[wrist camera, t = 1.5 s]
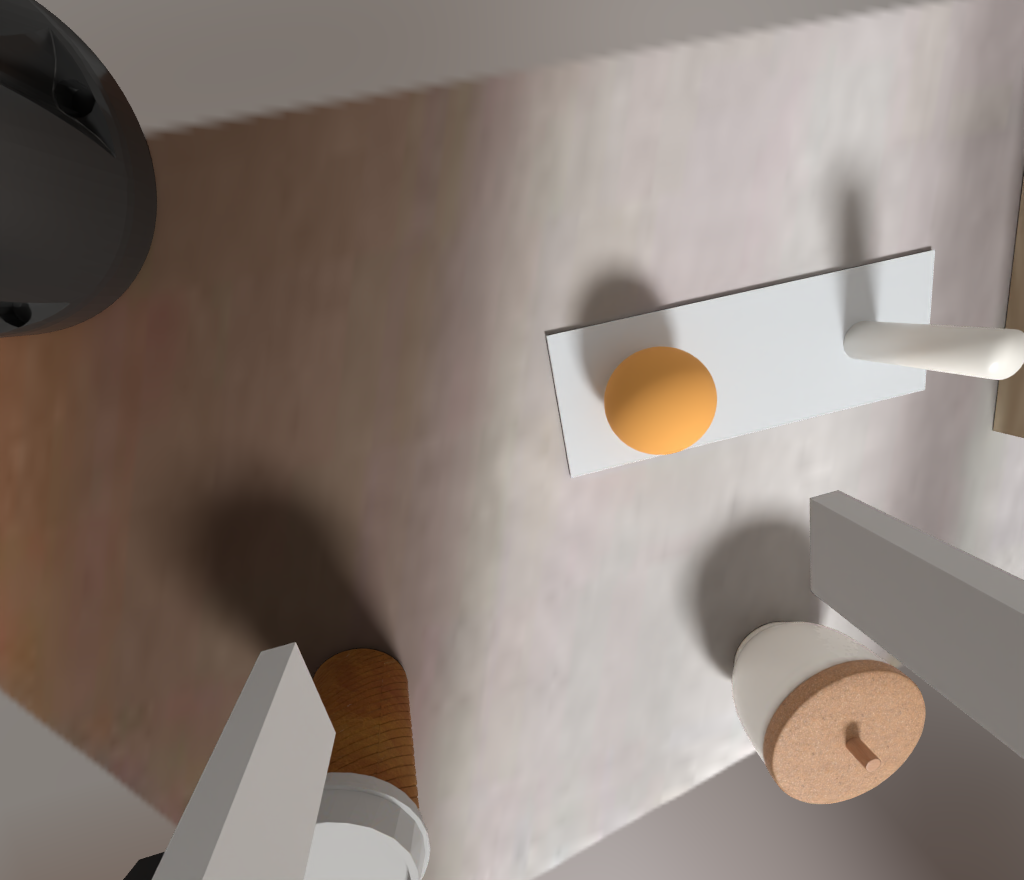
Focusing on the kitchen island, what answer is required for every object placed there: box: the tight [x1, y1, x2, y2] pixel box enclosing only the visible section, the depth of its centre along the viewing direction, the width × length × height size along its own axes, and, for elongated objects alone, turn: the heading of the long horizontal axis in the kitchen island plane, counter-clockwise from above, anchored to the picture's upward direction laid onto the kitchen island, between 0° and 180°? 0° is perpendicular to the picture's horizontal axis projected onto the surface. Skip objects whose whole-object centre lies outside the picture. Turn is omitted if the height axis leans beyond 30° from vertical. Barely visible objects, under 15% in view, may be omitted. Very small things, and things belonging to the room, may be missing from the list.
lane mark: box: [546, 250, 935, 478], centre depth 30 cm, size 25×9×1 cm, turn 101°
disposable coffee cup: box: [304, 649, 430, 880], centre depth 27 cm, size 10×10×12 cm
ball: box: [604, 346, 717, 455], centre depth 27 cm, size 6×6×6 cm
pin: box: [843, 321, 1024, 380], centre depth 27 cm, size 2×2×8 cm
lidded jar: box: [732, 622, 925, 804], centre depth 33 cm, size 11×11×9 cm
